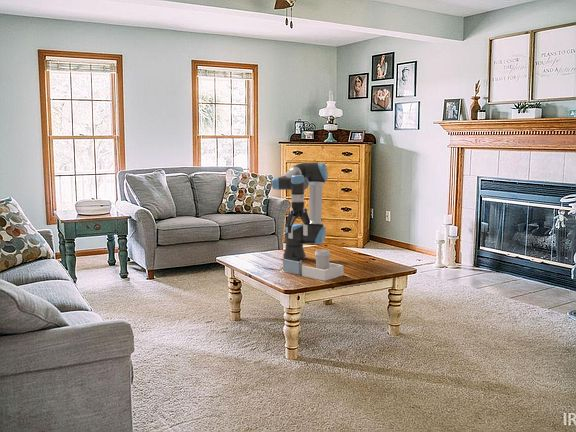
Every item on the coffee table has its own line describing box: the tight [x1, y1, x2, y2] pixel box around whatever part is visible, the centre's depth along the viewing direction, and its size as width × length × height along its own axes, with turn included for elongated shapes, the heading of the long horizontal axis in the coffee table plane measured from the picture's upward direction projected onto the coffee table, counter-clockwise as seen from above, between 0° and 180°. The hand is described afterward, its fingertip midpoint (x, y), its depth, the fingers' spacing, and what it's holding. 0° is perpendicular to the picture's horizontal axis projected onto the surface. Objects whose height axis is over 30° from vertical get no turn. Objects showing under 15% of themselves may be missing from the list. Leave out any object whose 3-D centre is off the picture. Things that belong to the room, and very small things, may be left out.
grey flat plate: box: [282, 258, 300, 275], centre depth 341 cm, size 13×1×7 cm, turn 46°
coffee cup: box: [314, 248, 332, 270], centre depth 335 cm, size 10×10×15 cm
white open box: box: [299, 260, 344, 282], centre depth 336 cm, size 19×18×9 cm
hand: (298, 237), depth 338 cm, fingers open, 13 cm apart
